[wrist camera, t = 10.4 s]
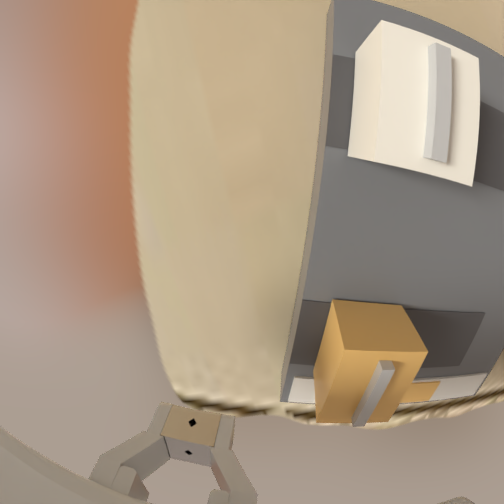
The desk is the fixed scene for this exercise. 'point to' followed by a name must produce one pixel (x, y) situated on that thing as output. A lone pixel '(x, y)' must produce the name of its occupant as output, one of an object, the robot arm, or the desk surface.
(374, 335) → the amber slider
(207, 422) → the robot arm
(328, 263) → the switch unit
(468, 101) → the ivory slider
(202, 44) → the desk surface
